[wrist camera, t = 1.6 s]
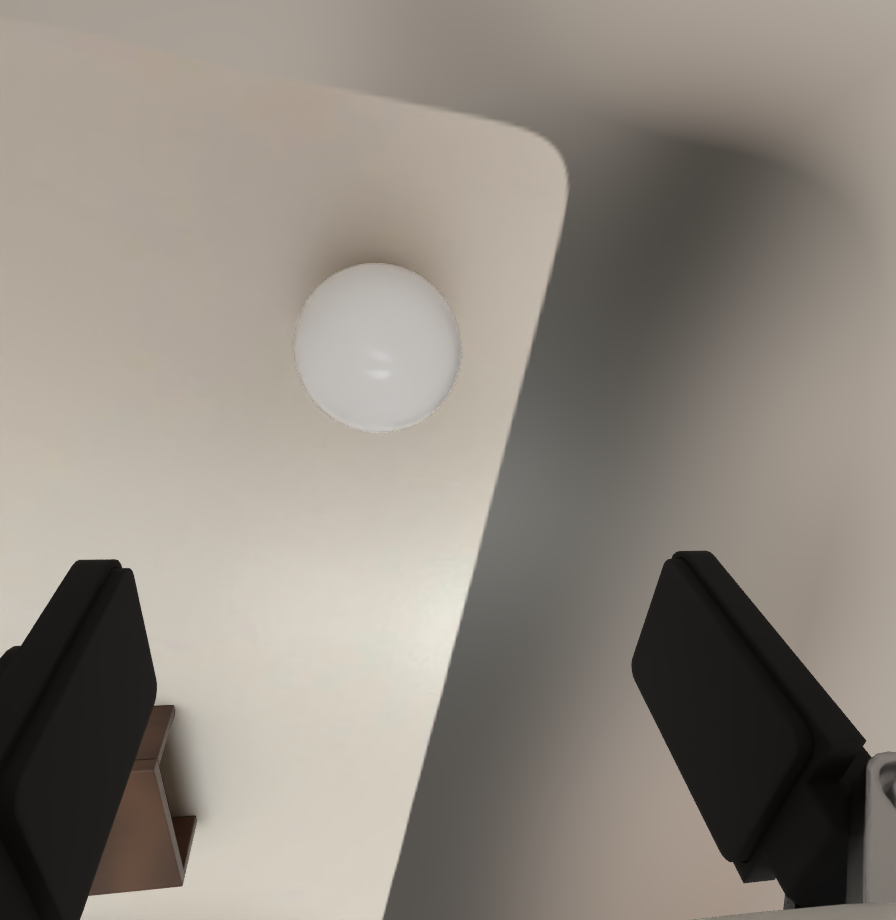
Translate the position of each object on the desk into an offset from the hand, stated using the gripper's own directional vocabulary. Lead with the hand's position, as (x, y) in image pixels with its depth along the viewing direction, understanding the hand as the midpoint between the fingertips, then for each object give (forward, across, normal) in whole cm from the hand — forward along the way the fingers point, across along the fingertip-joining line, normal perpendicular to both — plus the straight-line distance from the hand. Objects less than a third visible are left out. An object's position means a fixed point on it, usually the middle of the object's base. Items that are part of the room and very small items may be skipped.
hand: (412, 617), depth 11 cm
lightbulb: (+22, 0, 0) cm, 22 cm away
